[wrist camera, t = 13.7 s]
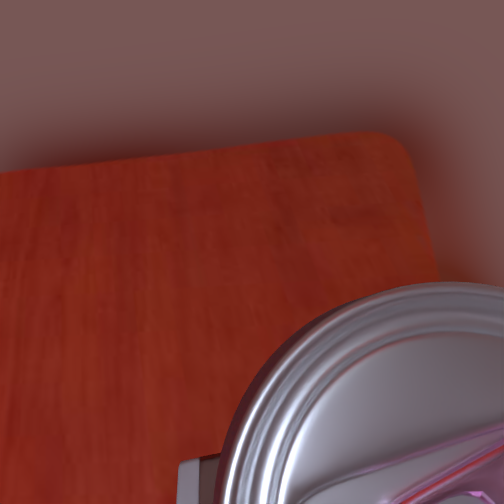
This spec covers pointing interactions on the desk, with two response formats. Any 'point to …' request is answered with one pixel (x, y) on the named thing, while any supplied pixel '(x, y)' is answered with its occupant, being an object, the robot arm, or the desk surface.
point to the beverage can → (377, 405)
